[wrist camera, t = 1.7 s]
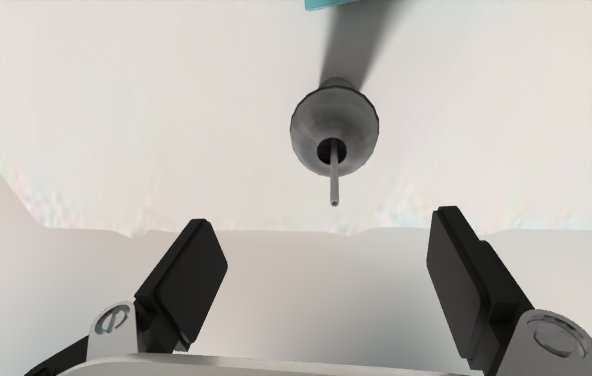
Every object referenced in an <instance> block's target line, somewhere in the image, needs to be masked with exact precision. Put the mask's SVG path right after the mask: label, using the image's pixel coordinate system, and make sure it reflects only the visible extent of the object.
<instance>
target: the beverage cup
mask: <svg viewBox="0 0 592 376" xmlns="http://www.w3.org/2000/svg"><path fill="white" fill-rule="evenodd" d="M378 135H379V118H378V116H377V113H376V110H375V107H374V106H373V104H372V103H371V102H370V101H369V100H368V99H367V97H366V96H365V95H363V94H362V93H360V92H358V91H356V89H355V88H354V87H353V86H352V84H351V83H350V82H348V81H347V80H345V79H342V78H332V79H329V80H327V81H326V82H324V83H323V84H322V85H321V86H320V87H319V88H318V89H317V90H315V91H313V92H311V93H309V94H308V95H307V96H306V97H305V98H304V99H303V100H302V101H301V102H300V103H299V104H298V105H297V107H296V109H295V111H294V113H293V115H292V118H291V125H290V136H291V141H292V147H293V150H294V152H295V154H296V155H297V157H298V159H299V161H300V162H301V163H302V164H303V165H304V166H305V167H306V168H307V169H308V170H310V171H312V172H314V173H316V174H318V175H322V176H327V177H331V179H330V205H331V206H332V207H336V206H338V205H339V184H338V177H339V176H344V175H347V174H350V173H353V172H355V171H356V170H357V169H359V168H360V167H361V166H363V165H364V164H365V163H366V161H367V160H368V159H369V157H370V156H371V155H372V153H373V151H374V148H375V145H376V142H377V139H378Z"/></svg>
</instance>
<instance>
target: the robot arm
mask: <svg viewBox="0 0 592 376" xmlns="http://www.w3.org/2000/svg"><path fill="white" fill-rule="evenodd" d="M426 262H427V268H428V271H429V274H430V277H431V279H432V282H433V285H434V288H435V290H436V293H437V296H438V298H439V301H440V304H441V306H442V309H443V312H444V315H445V317H446V320H447V323H448V325H449V328H450V331H451V333H452V336H453V339H454V342H455V344H456V347H457V350H458V352H459V355H460V356H461V358H466V359H467V361H468V364H469V366H470V369H471V370H482V371H483V373H484V376H592V338H591V337H590V336H589V335H588V334H587V332H586V331H585V330H584V329H582V328H581V327H580V326H579V325H577V324H576V323H575V322H573V321H571V320H569V319H568V318H566V317H564V316H562V315H559V314H556V313H554V312H551V311H546V310H541V309H537V310H535V308H534V307H533V306H532V304H531V303H530V301H529V300H528V298H527V297H526V295H525V294H524V293H523V291H522V290H521V288H520V287H519V285H518V284H517V283H516V281H515V280H514V278H513V277H512V275H511V274H510V272H509V271H508V269H507V268H506V267H505V265H504V264H503V262H502V261H501V260H500V258H499V257H498V255H497V254H496V252H495V251H494V250H493V248H492V247H491V245H490V244H489V243H488V242H487V241H484V240H483V241H480V240H479V238H478V237H477V235H476V234H475V232H474V231H473V229H472V228H471V226H470V225H469V223H468V222H467V220H466V219H465V217H464V216H463V214H462V213H461V211H460V210H459V208H458V207H457V206H442V207H439V208H438V211H433V214H432V222H431V229H430V237H429V245H428V252H427V261H426ZM227 268H228V264H227V261H226V258H225V256H224V254H223V251H222V249H221V247H220V245H219V242H218V240H217V237H216V235H215V232H214V230H213V228H212V225H211V223H210V222H207V220H206V219H192V220H190V222H189V223H188V224H187V226H186V227H185V228H184V230H183V231H182V232H181V234H180V235H179V236H178V238H177V239H176V240H175V242H174V243H173V244H172V246H171V247H170V248H169V250H168V251H167V252H166V254H165V255H164V256H163V258H162V259H161V260H160V262H159V263H158V264H157V265H156V267H155V268H154V269H153V271H152V272H151V273H150V275H149V276H148V277H147V279H146V280H145V282H144V283H143V284H142V285H141V287H140V288H139V290H138V291H137V292H136V293H135V295H134V297H135V298H136V300H135V301H134V303H132V302H130V301H122V302H118V303H116V304H113V305H112V306H110V307H108V308H107V309H106V310H104V311H103V312H102V313H101V314H100V315H99V316H98V317H97V318H96V319H95V320H94V322H93V324H92V325H91V328H90V331H89V335H88V336H86V337H84V338H82V339H81V340H79V341H77V342H76V343H74V344H72V345H71V346H69V347H67V348H66V349H64V350H62V351H60V352H59V353H57V354H55V355H54V356H52V357H50V358H49V359H47V360H45V361H43V362H42V363H40V364H38V365H37V366H35V367H34V368H33V369H31V370H30V371H29V372H28V373H27V374H25V375H24V376H468V375H460V374H453V373H443V372H431V371H420V370H409V369H397V368H383V367H369V366H355V365H340V364H327V363H312V362H296V361H281V360H266V359H251V358H234V357H219V356H201V355H183V354H172V353H173V350H175V351H183V352H188V350H189V347H190V345H191V343H194V342H195V340H196V338H197V336H198V334H199V332H200V329H201V327H202V325H203V323H204V321H205V318H206V316H207V314H208V312H209V310H210V307H211V305H212V303H213V301H214V298H215V296H216V294H217V292H218V289H219V287H220V285H221V283H222V281H223V278H224V276H225V274H226V272H227Z"/></svg>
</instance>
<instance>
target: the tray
mask: <svg viewBox="0 0 592 376" xmlns="http://www.w3.org/2000/svg"><path fill="white" fill-rule="evenodd" d="M356 1H361V0H305V8H306V10H307V11H313V10H318V9H322V8H327V7H332V6H337V5H342V4H346V3H351V2H356Z"/></svg>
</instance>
